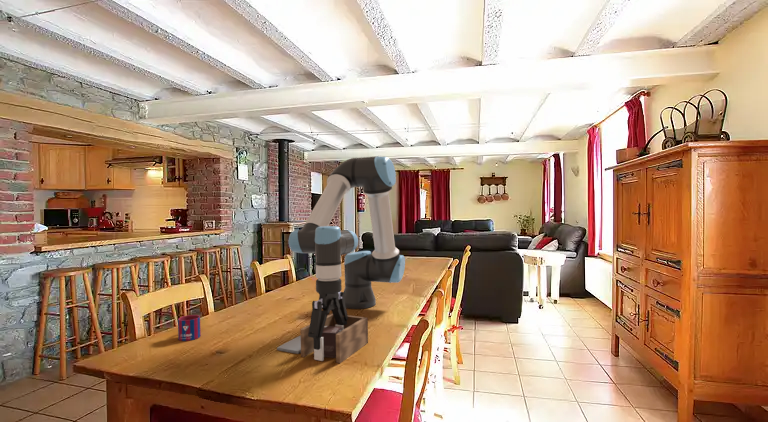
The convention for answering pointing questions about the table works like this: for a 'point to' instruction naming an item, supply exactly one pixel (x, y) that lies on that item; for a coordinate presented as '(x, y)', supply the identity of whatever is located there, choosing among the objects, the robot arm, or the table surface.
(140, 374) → the table surface
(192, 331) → the mug
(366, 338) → the open wooden cubby
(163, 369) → the table surface
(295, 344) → the slate
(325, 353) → the box
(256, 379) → the table surface
